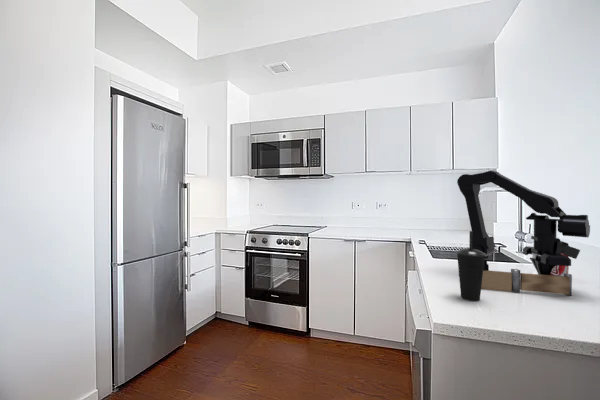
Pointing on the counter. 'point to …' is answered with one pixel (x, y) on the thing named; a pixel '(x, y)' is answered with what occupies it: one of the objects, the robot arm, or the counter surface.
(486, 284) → the gate frame
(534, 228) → the robot arm
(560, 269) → the soda can
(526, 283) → the gate leaf
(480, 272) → the drinking cup
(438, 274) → the counter surface
